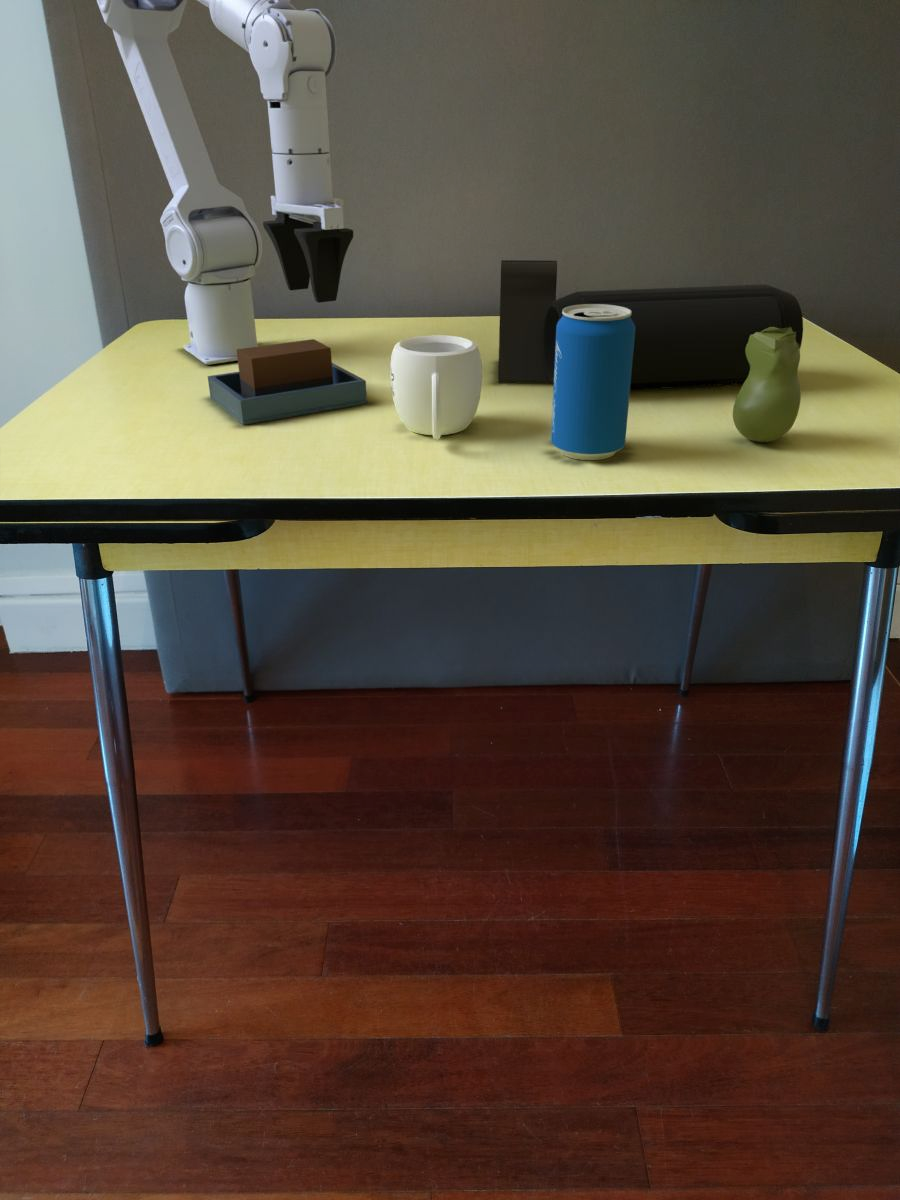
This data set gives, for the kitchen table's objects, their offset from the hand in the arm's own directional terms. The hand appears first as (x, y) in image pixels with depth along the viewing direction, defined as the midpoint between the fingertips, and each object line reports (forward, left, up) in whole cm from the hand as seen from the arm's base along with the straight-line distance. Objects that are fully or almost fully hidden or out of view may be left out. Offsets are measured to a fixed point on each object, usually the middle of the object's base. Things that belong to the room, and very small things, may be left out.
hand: (311, 295), depth 97 cm
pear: (+40, +26, -9) cm, 49 cm away
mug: (+23, +2, -9) cm, 25 cm away
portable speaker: (+22, +31, -9) cm, 39 cm away
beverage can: (+34, +11, -9) cm, 37 cm away
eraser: (+6, -6, -9) cm, 12 cm away
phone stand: (+10, +21, -9) cm, 25 cm away
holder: (+6, -6, -9) cm, 12 cm away
